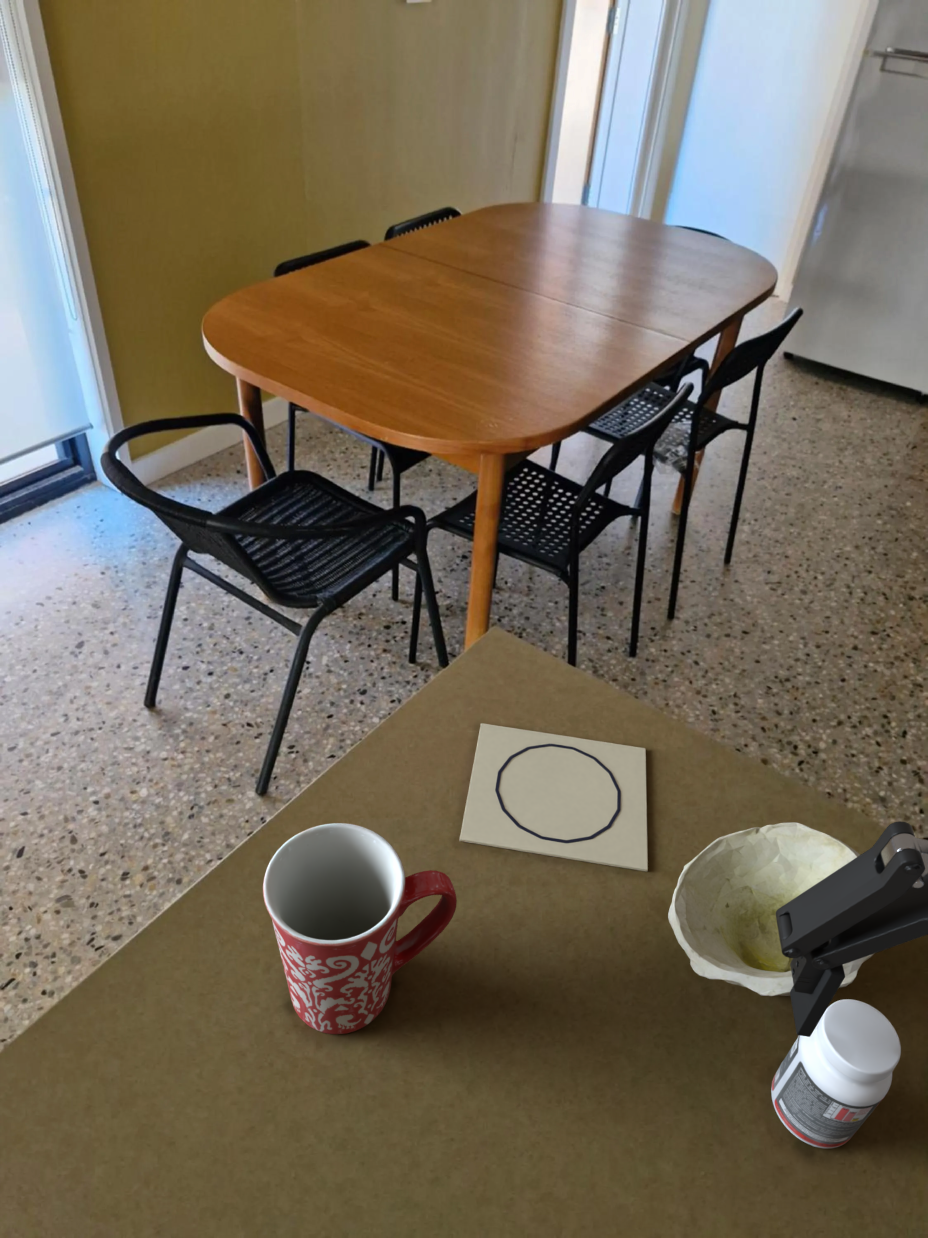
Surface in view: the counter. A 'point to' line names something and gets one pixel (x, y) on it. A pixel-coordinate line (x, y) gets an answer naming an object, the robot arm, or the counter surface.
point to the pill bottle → (836, 1074)
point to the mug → (346, 921)
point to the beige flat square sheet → (558, 797)
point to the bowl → (751, 902)
